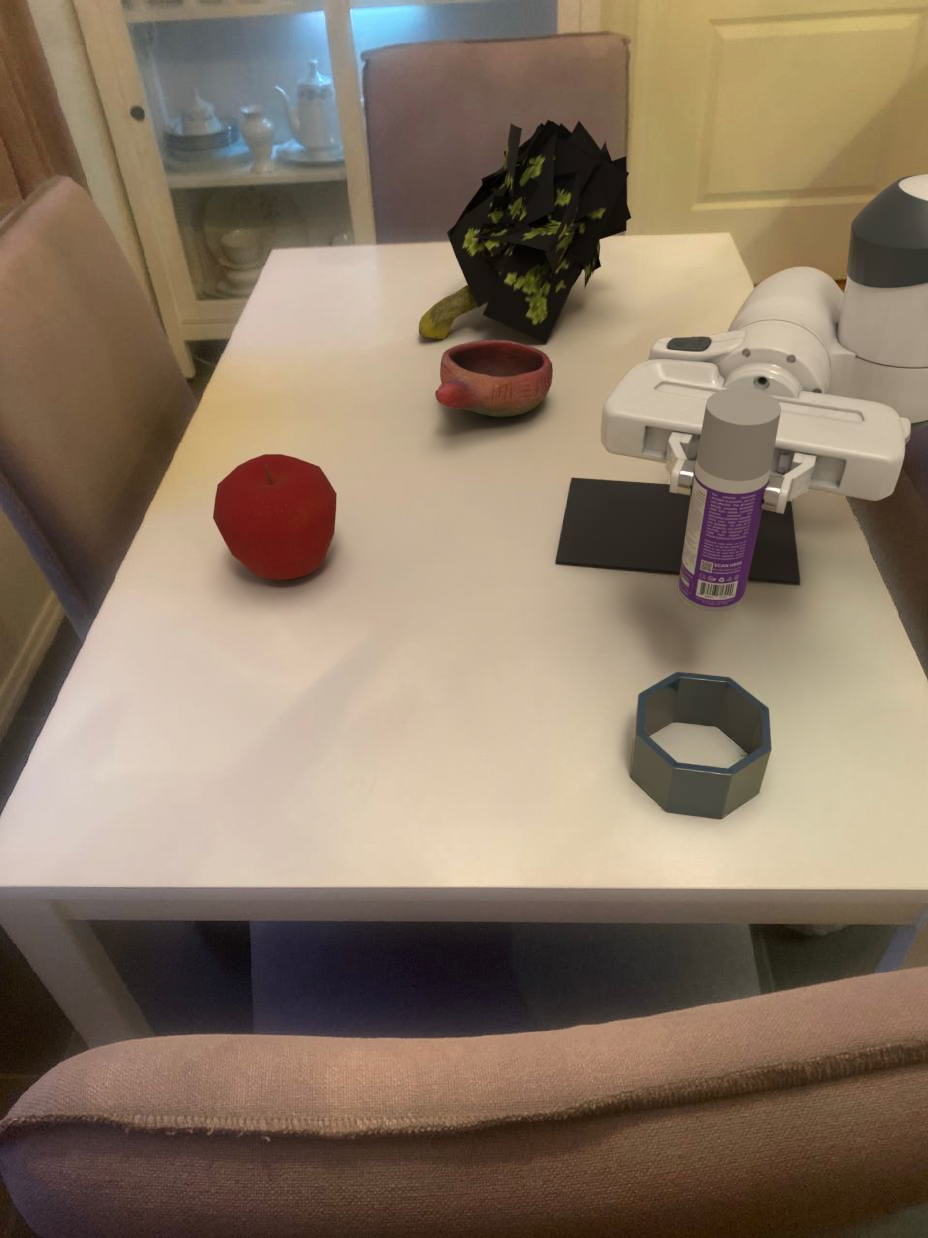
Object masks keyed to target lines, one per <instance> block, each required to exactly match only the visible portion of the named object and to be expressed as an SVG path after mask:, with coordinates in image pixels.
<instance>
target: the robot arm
mask: <svg viewBox="0 0 928 1238" xmlns="http://www.w3.org/2000/svg"><path fill="white" fill-rule="evenodd" d="M849 234H850V236H849V244H848V252H847V253H848V255H847V262H846V263H847V264H846V274H847V277H846V282H845V287H844V290H842V289H841V288H840V286H839V285H838V283H837V282H836V281H835V280H834V279H833V278H832V277H831V276H830V275H829V274H828V273H826V272H825V271H823V270H820V269H818V268H816V267H812V266H800V265H799V266H793V267H788V268H785V269H782V270H780V271H778V272H775V273H773V274H772V275H770V276H768V277H767V278H766V279H764V280H762V281H761V282H759V283H758V284H757V285H756V286H755V287H754V288H753V289H752V290H751V291H750V293H749V294H748V295H747V296H746V298H745V299H744V300H743V302H742V304H741V305H740V307H739V308H738V310H737V311H736V313H735V314H734V317H733V319H732V320H731V322H730V325H729V326H728V329H727V331H725V332H721V333H717V334H710V335H701V336H686V337H685V336H684V337H662V338H658V339H656V340H654V341H653V343H652V344H651V346H650V350H649V355H648V359H647V360H644V361H641V362H639V363H637V364H635V365H634V366H632V367H631V368H630V369H629V370H628V371H627V372H625V374H624V375H623V376H622V377H621V379H620V380H619V381H618V383H617V384H616V385H615V386H614V388H613V389H612V391H611V392H610V393H609V395H608V397H607V398H606V400H605V402H604V404H603V408H602V412H601V420H600V443H601V445H602V447H603V448H604V450H605V451H607V453H609V454H612V455H618V456H623V457H624V456H625V457H630V458H633V459H634V458H635V459H642V460H646V461H651V462H656V463H657V462H658V463H663V464H665V465H664V466H665V468H666V470H667V471H668V473H669V476H670V480H669V481H670V482H669V484H670V489H669V491H670V492H672V493H677V494H683V495H689V496H691V493H692V484H693V479H694V470H695V465H696V459H697V453H698V448H699V442H700V436H701V430H702V425H703V419H704V413H705V408H706V402H707V400H708V398H709V397H710V396H711V395H712V394H714V393H716V392H718V391H721V390H725V389H730V388H747V389H754V390H758V391H761V392H764V393H767V394H769V395H771V396H772V397H774V398H775V399H776V400H777V401H778V402H779V404H780V406H781V413H780V419H779V425H778V430H777V436H776V441H775V447H774V453H773V458H772V464H771V470H770V475H769V481H768V484H767V486H766V488H765V490H764V494H763V501H762V504H761V509H763V510H768V511H773V512H777V513H781V514H783V513H784V510H785V507H786V503H787V501H791V502H792V501H793V500H795V499H797V498H799V497H801V496H803V495H805V494H806V493H808V492H809V490H812V491H817V492H823V493H829V494H834V495H839V496H845V497H850V498H856V499H861V500H866V501H872V502H878V501H881V500H883V499H885V498H888V497H890V496H891V495H892V494H893V493H894V491H895V488H896V486H897V483H898V480H899V477H900V474H901V470H902V467H903V464H904V460H905V455H906V444H907V443H908V442H909V441H910V440H911V433H912V432H913V431H915V430H918V429H921V428H924V427H926V426H928V173H925V174H916V175H915V174H913V175H907V176H903V177H900V178H898V179H896V180H895V181H894V182H892V183H890V185H888V186H887V187H885V188H884V189H883V190H882V191H880V192H879V193H878V194H877V195H876V196H875V197H873V199H871V200H870V201H869V202H868V203H867V204H865V206H864V207H863V208H862V209H861V210H860V211H859V212H858V214H857V215H855V216H854V218H853V220H852V221H851V225H850V233H849Z"/></svg>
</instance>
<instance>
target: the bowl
mask: <svg viewBox="0 0 928 1238" xmlns="http://www.w3.org/2000/svg"><path fill="white" fill-rule="evenodd" d="M439 367H440V368H439V376H440V377H439V378H440V382H441V384H440V385H439V386H438V388H437V389H436V390H435V393H434V395H435V399H436V401H437V403H439V404H440V405H442V406H443V407H446V408H450V409H454V410H465V411H470V412H472V413H475V414H479V415H483V416H488V417H500V418H501V417H502V418H506V417H515V416H519V415H522V414H525V413H528V412H530V411H532V410H533V409H535V408H536V407H537V406H538V405H539V404H541V403H542V402H543V400H544V399H545V398H546V397H547V395H548V394H549V392H550V388H551V386H552V383H553V377H554V376H553V372H554V368H553V362H552V361H551V360H550V357H549V356H548V354H547V353H546V352H544V351H542V350H540V349H538V348H535V347H533V346H530V345H527V344H524V343H520V342H516V341H512V340H507V339H506V340H505V339H481V340H474V341H468V342H464V343H460V344H457V345H454V346H452V347H450V348H448V349H446V350H445V351H444V352H443V353H442V356H441V358H440V366H439Z"/></svg>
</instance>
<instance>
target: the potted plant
mask: <svg viewBox="0 0 928 1238" xmlns="http://www.w3.org/2000/svg"><path fill="white" fill-rule="evenodd" d="M522 131H523V128H522V127H519V126H517V125H515V124H513V123H512V122H511V123H510V126H509V132H508V137H507V138H508V139H507V144H506V150H504V151H503V155H504V163H503V164H502V167H501V168H499V169H498V170H496V171H495V172H493V173H490V174H488V175H486V176H483V177H482V178H481V185H480V187H479V188H478V189H477V191H476V193H475V194H474V195H473V196H472V198H471V199H470V201H469V202H468V203H467V205H466V206H465V208H464V209H463V211H462V213H461V215H460V216H459V218H458V219H457V221H456V222H455V224H454V225H453V226H452V227H451V228H449V230H447V231H446V234H447V237H448V239H449V242H450V245H451V248H452V251H453V253H454V256H455V259H456V261H457V264H458V266H459V269H460V270H461V273H462V275H463V277H464V280H465V282H466V285H465V286H463V287H461V288H460V289H459V290H457V291H455V292H454V293H451V294H449V295H447V296H445V297H444V298H442V299H441V300H439V301H437V302H436V303H435V304H433V305H432V306H431V307H430V308H429V309H428V310H427V311H426V312H425V313H424V314H423V315H422V316H421V319H420V320H419V322H418V333H419V335H420V336H421V337H423V338H428V339H429V338H430V339H435V340H444V339H445V338H446V337H447V336H448V334H449V332H450V330H451V328H452V325H453V322H455V319H457V318H458V317H460V316H462V315H464V314H467V313H468V312H471V311H473V310H475V309H477V308H478V309H479V308H480V307H482V306H483V305H485V304H486V306H485V308H484V310H483V312H482V316H483V317H485V318H488V319H490V320H493V321H495V322H497V323H499V324H501V325H503V326H505V327H508V328H510V329H512V330H514V331H516V332H518V333H520V334H522V335H525V336H526V337H529V338H531V339H533V340H536V341H537V342H539V343H541V344H544V345H547V342H548V341H549V339H550V336H551V335H552V332H553V330H554V329H555V327H556V324H557V322H558V320H559V318H560V316H561V314H562V312H563V309H564V306H565V304H566V302H567V299H568V297H569V295H570V293H571V291H572V288H573V287H574V286H575V284H576V282H577V280H579V278H580V276H581V274H582V272H584V286H583V287H584V288H583V289H584V290H585V289H586V287H587V285H588V283H589V280H590V279H591V277H592V276H593V275H594V273H595V271H596V270H598V269H600V268H602V263H601V259H600V256H601V255H600V254H601V241H600V240H603V239H606V238H610V237H612V236H615V235H618V234H621V233H624V232H626V231H627V224H628V223H627V222H628V221H629V220H630V219H632V215H631V212H630V209H629V205H628V177H629V175H630V172H629V171H627V170H628V169H627V156H626V155H625V156H623V157H619V158H617V159H613V160H612V157H611V155H610V152H609V150H608V146H607V142H606V141H605V140H604V143H603V145H602V147H601V148H600V147H599V144H597V142H596V141H595V139H594V138H593V137H592V135H591V134H590V133H589V131H588V130H587V129H586V128H585V126H584V125H583V123H582V122H581V121H580V120H578V121H577V123H576V125H575V126H574V128H573V130H572V131H571V130H570V129H568V128H567V127H566V126H565V125H564V124H563V123H562V122H561V123H560V124H557V123H556V122H554V121H553V120H550V119H547V121H546V122H545V123H543V122H540V124H539V125H537V127H536V128H535V130H534V133H533V134H532V135H531V137H530V138H528V139H527V140H525V141H524V142H523V143H522V144H521V145H520V143H521V138H522Z"/></svg>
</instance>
